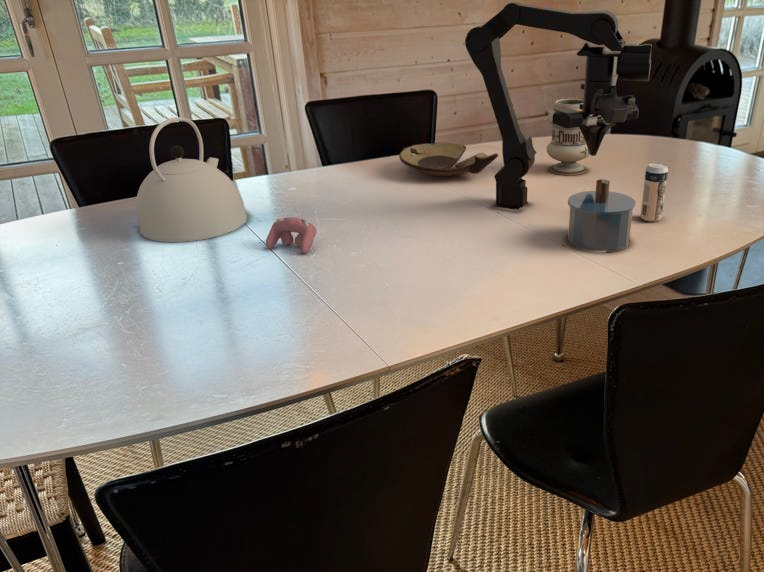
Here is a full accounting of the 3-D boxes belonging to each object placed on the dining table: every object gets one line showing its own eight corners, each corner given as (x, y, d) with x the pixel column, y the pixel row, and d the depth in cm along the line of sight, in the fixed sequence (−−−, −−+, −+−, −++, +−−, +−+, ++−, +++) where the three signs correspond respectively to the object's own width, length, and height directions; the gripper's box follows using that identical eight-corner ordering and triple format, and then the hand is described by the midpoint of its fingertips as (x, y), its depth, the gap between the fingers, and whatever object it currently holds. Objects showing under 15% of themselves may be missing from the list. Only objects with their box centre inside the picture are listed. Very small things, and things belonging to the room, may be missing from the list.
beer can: (661, 223, 147) (669, 169, 140) (639, 222, 148) (646, 167, 141) (661, 216, 151) (668, 162, 144) (639, 214, 152) (646, 161, 145)
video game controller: (317, 255, 137) (320, 221, 136) (304, 253, 133) (308, 218, 132) (276, 249, 140) (279, 216, 139) (262, 247, 136) (266, 213, 135)
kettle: (184, 201, 163) (160, 104, 151) (269, 206, 159) (251, 107, 147) (117, 238, 142) (83, 129, 131) (213, 245, 138) (187, 133, 127)
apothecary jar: (546, 163, 188) (549, 96, 179) (589, 164, 187) (595, 97, 178) (544, 175, 178) (547, 105, 169) (589, 177, 177) (595, 106, 167)
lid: (557, 211, 132) (558, 185, 129) (581, 192, 142) (583, 168, 139) (622, 222, 127) (625, 195, 124) (642, 201, 137) (646, 176, 134)
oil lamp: (454, 156, 196) (453, 129, 192) (511, 180, 175) (512, 151, 171) (385, 168, 186) (383, 140, 182) (437, 195, 165) (436, 164, 161)
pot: (558, 246, 136) (560, 208, 132) (580, 227, 145) (583, 191, 141) (617, 257, 131) (621, 218, 127) (635, 236, 140) (640, 199, 136)
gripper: (583, 89, 129) (578, 170, 137) (659, 81, 136) (650, 158, 144) (552, 81, 137) (549, 157, 145) (625, 73, 144) (618, 147, 152)
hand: (592, 155), depth 146 cm, fingers closed
